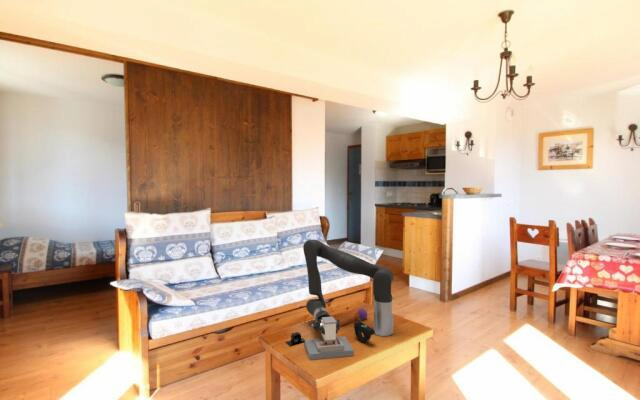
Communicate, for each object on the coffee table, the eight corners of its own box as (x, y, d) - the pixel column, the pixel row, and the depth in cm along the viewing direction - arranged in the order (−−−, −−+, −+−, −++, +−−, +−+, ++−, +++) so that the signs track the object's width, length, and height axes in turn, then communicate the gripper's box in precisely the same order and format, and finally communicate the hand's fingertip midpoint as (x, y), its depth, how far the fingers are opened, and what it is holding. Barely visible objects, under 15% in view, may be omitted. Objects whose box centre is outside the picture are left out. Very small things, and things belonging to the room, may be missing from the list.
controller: (358, 336, 171) (358, 316, 170) (376, 345, 161) (376, 325, 160) (352, 338, 168) (352, 318, 168) (369, 348, 158) (369, 327, 158)
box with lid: (332, 338, 158) (333, 316, 158) (336, 345, 152) (336, 322, 152) (321, 339, 157) (321, 317, 157) (324, 346, 151) (324, 322, 150)
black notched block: (288, 349, 158) (288, 339, 157) (281, 343, 164) (281, 333, 164) (310, 342, 164) (310, 333, 164) (303, 337, 170) (303, 328, 170)
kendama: (334, 317, 185) (361, 306, 197) (336, 328, 185) (363, 317, 197) (341, 318, 180) (368, 308, 192) (343, 329, 180) (370, 318, 192)
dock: (345, 341, 165) (345, 331, 164) (353, 355, 151) (353, 344, 151) (304, 345, 161) (304, 334, 160) (309, 360, 147) (309, 348, 147)
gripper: (308, 311, 167) (314, 325, 150) (336, 309, 170) (345, 322, 153) (308, 325, 167) (314, 341, 150) (336, 323, 170) (345, 339, 153)
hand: (330, 332), depth 152 cm, fingers closed on box with lid, 5 cm apart
